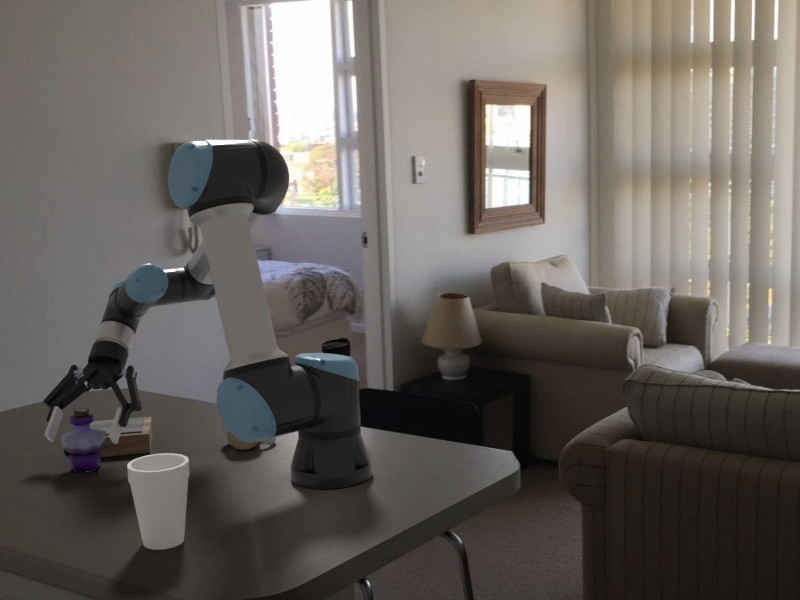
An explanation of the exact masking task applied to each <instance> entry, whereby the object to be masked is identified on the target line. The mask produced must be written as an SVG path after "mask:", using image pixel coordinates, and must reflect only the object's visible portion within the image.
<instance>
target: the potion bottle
mask: <svg viewBox="0 0 800 600" xmlns="http://www.w3.org/2000/svg"><path fill="white" fill-rule="evenodd" d="M72 414H73V415H70V416H69V422H70V424H71V425H73V426H74V429H73V430H70V431H68V432H65V433H64V434H63V435H61V436H60V441H61V444H62V452H63V455H64V456H65V457H66V458H67V459H68V461H69V465H70V467H71V470H74V471H76V472H80V473H79V474H83V473H82V472H85V473H84V474H87V473H91V470H92V472H95V471H98V470H99V469H100V468H101V467H102V466H101V462H102V457H101V455H102V448H103V447H104V443H105V436H106V432H105V431H103V430H100V429H94V428H91V427H90V423H92V422H93V421H95V417H94V414H93V413H90V409H89V408H87V407H81V408H75V409H73V413H72ZM94 469H95V470H94ZM86 471H90V472H86Z"/></svg>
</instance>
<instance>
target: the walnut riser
mask: <svg viewBox="0 0 800 600" xmlns="http://www.w3.org/2000/svg"><path fill="white" fill-rule="evenodd" d="M113 421H114V419H105V420H102V419H101V420H94V421H93V422H92V423H90V427H91V428H94V429H100V430H103V431H105V432H106V436H105V443H104V447H103V448H102V455H101V458H105V457H114V456H117V457H118V456H127V455H137V454H138V455H139V454H149V453H151V451H152V442H153V436H154V434H153V433H154V432H153V431H154V430H153V429H154V428H153V418H152V416H141V417H129V420H128V424H127V426H126V427H122V431H121V434H120V437H119V440H118V444H114V443H113V442H112V441H111V439H110V438H109V434H110V431H111V428H112V424H113Z"/></svg>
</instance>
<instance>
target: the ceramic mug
mask: <svg viewBox="0 0 800 600" xmlns="http://www.w3.org/2000/svg"><path fill="white" fill-rule="evenodd" d="M221 428H222V429H221V430H222V432H223V434H224V436H225V438H226V441H227V442H228V444H229V445H230V446H231V447H232V448H234V449H236V450H239V451H248V450H251V449H252V448H254V447H256V446H257V445H258V443H261V444H264V445H268V446H272V445H274V444H275V442H276V440H277V437H274V438H272V439H270V440H260V441H255V442H244V441H241V440H239V439H238V438H236V437H235V436H234V435H233V434H232V433H231V432H230V431H229V430H228V429H227V428H226V426H225V424H224V423H223V421H221Z"/></svg>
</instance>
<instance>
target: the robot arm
mask: <svg viewBox="0 0 800 600" xmlns="http://www.w3.org/2000/svg"><path fill="white" fill-rule="evenodd" d="M167 185H168V186H167V187H168V192H169V196H170V199H171V201H172V202H173V203H174V205H175V206H176V207H178V208H180V209H182V210H186V211H187V214H188V218H189V222H190V223H192V224H193V225H195V226H197V228H199V229H200V233H201V238H202V240H201V242H200V243H199V245H198V247H197V248H196V250H195V251H194V253H193V254H192V256H191V257H190V259H189V260H188V262H187V263H186V265H185V266H184V265H183V266H181V267H180V266H179V267H173V268H172V267H171V268H164V269H162V267H160V266H158V265H156V264H155V265H154V264H153V263H143V264H141V265H139V266H137V267H136V268H135V269H134V270H133V271H131V273H129V274H128V276H127V278H125V280H122V281H117V282H116V283H115V284H114V285H113V288H112V290H111V292H110V293H109V295H108V298H107V299H108V300H107V304H106V307H105V309H104V312H103V315H102V318H101V321H100V324H99V326H98V329H97V332H96V334H95V336H94V337H95V338H94V341H93V344H92V346H91V349H90V351H89V353H88V354H89V355H88V357H87V358H88V360H87V364H86V365H85V366H84V367H79V366H77V365H76V364H72V365H71V366H70V368H69V370H68V372H67V373H66V375H65V376H64V377H63V378H62V379H61V380H60V381H59V382H58V384H57V385H56V386H55V387H54V388H53V389H52V390H51V391H50V392H49V393H48V395H46V397H45V398H44V399H43V402H42V403H44V404H45V406H46V407H47V408H48V409H49V411H48V415H47V417H46V423H47V427H46V429H45V432H44V436H45V438H46V439H47V440H48V441H49V442H51V443H53V442H54V441H55V439H56V436H57V434H58V431H59V429H60V425H61V423H62V419H63V417H64V412H63V411H62V410H64V409H66V407H68V406H69V405H70V404H71V403H73V402H74V401H75V400H76V399H78V398H79V397H81V396H82V395H83V394H84V393H87V392H89V391H90V390H106V391H107V390H108V389H110V388H111V389H112V391H113V393H114V394H115V396H116V398H117V400H118V402H119V403H120V405H121V407H117V410H116V412H115V415H114V418H113V420H114V421H113V424H112V428H111V431H110V434H109V438H110V439H111V441H112V442H113V443H114V444H118V440H119V437H120V434H121V431H122V427H126V426H127V424H128V420H129V418H131V414H132V413H133V412H140V411H142V409H143V408H142V407H143V406H142V402H141V399H140V393H139V389H138V385H137V376H138V372H137V371H136V369H135V368H134V366H133V365H131V364H130V365H128V366H127V368H125V367H126V364H127V362H128V358H129V353H130V352H131V348H132V346H133V343H134V339H135V337H136V333H137V330H138V327H139V325H140V322H141V319H142V318H143V317H144V316H145V315H146V313H147V312H149V311H150V309H151V308H154V307H162V306H169V305H175V304H182V303H190V302H197V301H207V300H211V299H216V303H217V307H218V313H219V316H220V320H221V326H222V331H223V335H224V339H225V343H226V347H227V353H228V357H229V360H228V363H227V364H226V365H225V367H224V369H223V374H224V379H223V380H222V381H221V382H220V383H219V384H218V387H217V390H216V394H217V395H216V405H217V411H218V414H219V416H220V419H221V420H222V421H223V423H224V424H225V426H226V428H227V429H228V430H229V431H230V432H231V433H232V434H233V435H234V436H235V437H236V438H238V439H239V440H241V441H244V442H255V441H260V440H270V439H272V438H274V437H276V438H277V437H281V436H285V435H288V434H292V433H296V432H297V434H298V436H297V441H296V442H297V443H296V446H295V449H294V453H293V456H292V460H291V464H290V480H291V481H292V483H294V484H295V485H298V486H300V487H304V488H309V489H318V490H322V489H323V490H328V489H329V490H330V489H332V490H333V489H342V488H347V487H352V486H353V487H354V486H356V485H359V484H361V483H364V482H366V481H368V480H369V479H370V478H371V477H372V475H373V474H372V473H373V472H372V471H373V469H372V468H373V467H372V466H373V465H372V460H371V458H370V454H369V452H368V450H367V447H366V444H365V441H364V439H363V436H362V430H361V429H362V428H361V427H362V426H361V422H362V421H361V405H360V403H361V401H360V398H361V397H360V381H361V379H360V376H359V366H358V365H359V364H358V362H357V360H355V359H354V358H352V356H351V357H348V356H344V355H338V354H328V353H323V352H305V353H304V352H303V353H299V354H296V355H295V356H294V361H293V364H294V365H291V361H290V357H289V355H288V354H287V353H286V352H284V351H283V350H281V349H280V348H279V347H278V344H277V343H278V342H277V339H276V334H275V330H274V325H273V321H272V317H271V312H270V308H269V304H268V300H267V296H266V291H265V287H264V282H263V278H262V274H261V270H260V265H259V260H258V258H257V252H256V249H255V243H254V239H253V234H254V232H255V231H256V230H257V229H258V227H259V226H260V224H261V223H262V222H263V220H264V219H265V217H266V216H270V215H272V214H274V213H276V211H277V210H278V209H279V207H280V205H281V204H282V202H283V201H284V199H285V198H286V195H287V193H288V189H289V186H290V172H289V168H288V164H287V162H286V160H285V158H284V157H283V155H282V154H281V153H280V151H279V150H278V149H277V148H275V146H273V145H272V144H270V143H268V142H266V141H263V140H261V139H260V140H259V139H253V138H252V139H251V138H250V139H214V140H213V139H201V140H195V141H187V142H184V143H182V144H181V145H180V146H178V147H177V149H175V151H174V153H173V154H172V157H171V161H170V163H169V167H168V173H167ZM123 376H124V378H125V380H126V384H127V389H128V393H129V397H130V402H129V400H128V399H127V398H126V396H125V394H124V393H123V391H122V389H121V387H120V385H119V383H118V381H119V380H120V379H122V378H123ZM85 383H86V384H85ZM222 421H221V422H222Z"/></svg>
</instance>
